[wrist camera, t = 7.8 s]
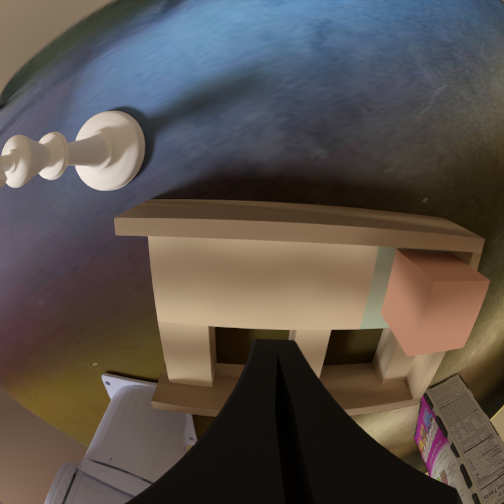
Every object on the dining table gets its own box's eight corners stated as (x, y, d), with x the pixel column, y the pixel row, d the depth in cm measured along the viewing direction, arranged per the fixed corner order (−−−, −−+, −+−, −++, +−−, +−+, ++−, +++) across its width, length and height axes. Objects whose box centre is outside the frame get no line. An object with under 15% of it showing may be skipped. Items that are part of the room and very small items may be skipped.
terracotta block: (432, 310, 15) (463, 347, 11) (380, 313, 15) (407, 356, 11) (449, 252, 14) (490, 280, 10) (396, 248, 14) (434, 281, 10)
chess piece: (119, 94, 13) (-8, 64, 4) (161, 156, 15) (38, 175, 5) (67, 147, 14) (-58, 167, 5) (103, 205, 16) (-17, 268, 6)
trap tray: (398, 366, 20) (417, 404, 15) (168, 365, 20) (153, 408, 16) (443, 217, 15) (484, 238, 11) (149, 199, 15) (114, 217, 11)
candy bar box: (446, 421, 24) (487, 515, 9) (412, 438, 25) (447, 538, 9) (460, 368, 20) (529, 486, 5) (420, 389, 21) (479, 523, 6)
